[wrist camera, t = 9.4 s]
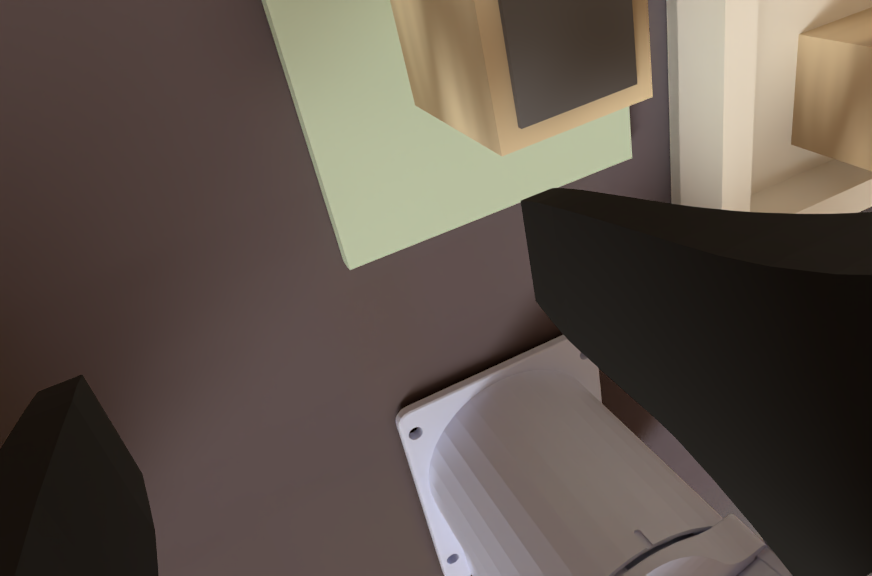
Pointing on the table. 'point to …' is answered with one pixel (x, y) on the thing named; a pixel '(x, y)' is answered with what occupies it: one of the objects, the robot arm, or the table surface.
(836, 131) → the plain block
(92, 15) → the table surface
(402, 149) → the pad
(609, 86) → the labelled block
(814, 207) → the tray
